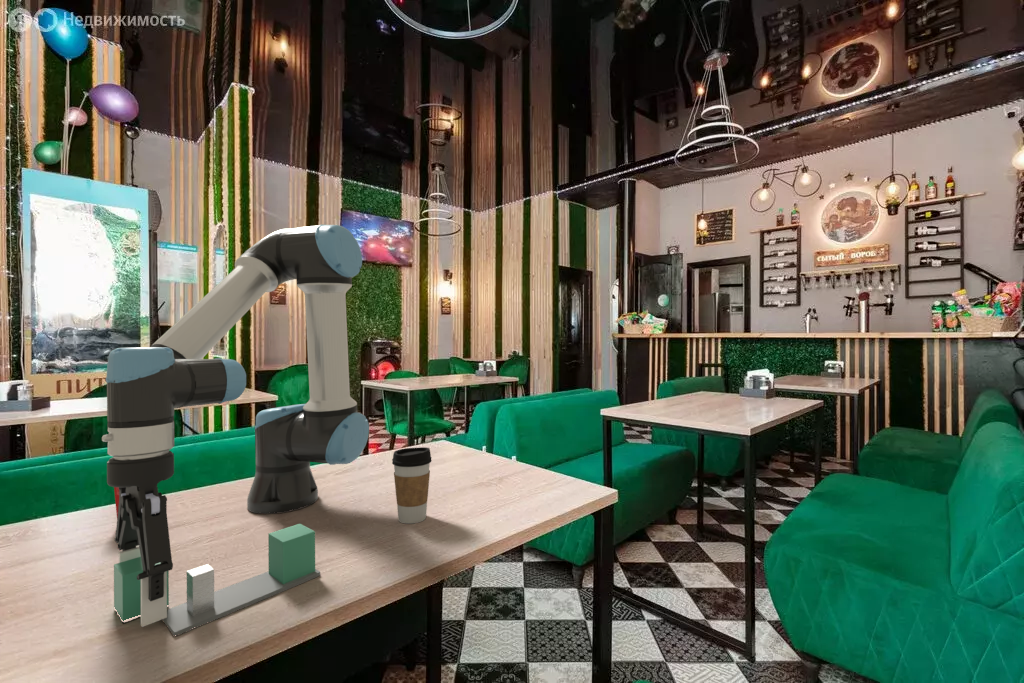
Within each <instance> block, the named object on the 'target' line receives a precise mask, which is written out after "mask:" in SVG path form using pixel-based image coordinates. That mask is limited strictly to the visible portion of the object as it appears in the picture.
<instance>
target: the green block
mask: <svg viewBox="0 0 1024 683" xmlns="http://www.w3.org/2000/svg"><path fill="white" fill-rule="evenodd" d="M157 564H161V562H160V563H157ZM157 564H155V565H157ZM169 571H170V570H169ZM169 571H167V605H169V604H170V603H169V601H170V600H169V599H170V597H169V596H170V595H169V593H170V592H169V590H170V589H169V587H170V586H169V584H170V583H169V573H170V572H169ZM140 573H143V567H142V561H141V557H138V558H134V559H131V560H127V561H124V562H121V563H119V562H118V563H114V564H113V608H114V607H115V609H116V610H117V612H118V614H119V615H120V617H121V619H122V620H123V621H124V620H126V619H129V618H132V617H135V616H138V615H141V579H140V580H137V576H138V574H140ZM169 606H170V605H169Z"/></svg>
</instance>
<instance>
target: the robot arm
mask: <svg viewBox="0 0 1024 683" xmlns="http://www.w3.org/2000/svg"><path fill="white" fill-rule="evenodd" d="M353 234H354V233H352V232H351V231H350V230H349V229H348V228H346V227H345V226H343V225H339V224H319V225H310V226H300V227H287V228H282V229H279V230H275V231H273V232H271V233H269V234H268V235H266V236H264V237H263V238H262V239H259V240H258V241H256V243H254V244H253V245H252V246H251V247H250V248H248V249H247V250H245V251H244V253H242V254H241V255H240V256H239V257H237V259H236V260H235V261H234V268H233V269H232V270H231V271H230V273H228V274H227V275H226V276H225V277H224V278H223V279H222V280H221V281H220V282H219V283H218V284H217V285H216V286H214V287H213V288H212V289H211V290H209V292H208V293H207V294H206V295H204V296H203V297H202V298H201V299H200V300H199V301H198V302H197V303H196V304H195V305H193V306H192V308H190V309H189V310H188V311H187V312H186V313H185V314H184V315H183V316H182V317H181V318H180V319H179V320H178V321H177V322H175V323H173V325H172V326H171V327H170V328H169V329H168V330H166V331H165V332H164V333H163V334H162V335H161V336H159V338H158V339H157V340H156V341H155V342H154V343H152V345H150V346H149V347H145V346H143V347H136V346H135V347H118V348H114V349H113V350H111V351H110V352H109V354H108V358H107V364H106V365H107V367H106V376H105V382H106V413H107V414H106V416H107V417H106V420H107V421H106V422H107V432H108V434H107V433H106V434H103V435H102V437H101V441H102V442H103V443H104V442H105V443H107V455H109V456H111V458H109V459H108V461H106V483H107V485H108V486H109V487H112V488H114V487H118V488H119V506H118V516H117V515H116V527H115V537H114V542H115V543H116V544H117V549H118V563H121V562H124V561H127V560H131V559H134V558H138V557H141V561H142V567H143V573H140V574H138V576H137V580H140V579H141V617H140V626H141V627H142V628H144V627H146V626H148V625H151V624H154V623H156V622H159V621H162V619H164V618H167V609H168V607H167V571H172V570H173V568H174V563H173V559H172V558H173V557H172V549H171V548H172V547H171V541H170V531H169V522H168V516H167V515H168V514H167V510H168V508H167V503H168V502H167V501H168V498H167V496H166V494H164V495H163V494H162V492H159V488H158V484H160V482H162V481H166V480H167V481H168V479H171V478H173V475H174V474H175V454H174V452H172V451H171V450H172V449H173V448H175V409H180V408H184V407H193V406H194V407H195V406H205V405H211V404H212V405H213V404H218V405H220V404H222V403H226V402H232V401H235V400H237V399H239V397H241V396H242V395H243V393H244V391H246V390H245V389H246V387H247V373H246V371H245V368H244V367H243V365H242V364H241V363H240V362H239V361H238V360H235V359H232V358H231V359H230V358H222V357H220V358H217V357H216V358H204V357H205V356H206V355H207V354H209V353H210V351H212V349H213V348H214V347H215V346H216V345H217V344H218V343H219V342H220V341H221V340H222V338H224V336H225V335H227V333H228V332H229V331H230V330H231V329H232V328H233V327H234V326H235V325H236V324H237V323H238V322H239V321H240V320H241V318H243V317H244V316H245V315H246V314H247V312H248V311H249V310H250V309H251V308H252V307H253V306H255V304H257V301H259V300H260V299H261V298H262V297H263V295H264V294H265V293H272V292H274V291H276V289H277V288H278V287H279V286H280V285H281V284H283V283H286V282H289V281H293V280H296V287H297V288H298V289H300V290H301V291H302V292H303V294H304V305H305V306H304V308H305V324H306V325H305V326H306V327H305V328H306V346H307V347H306V348H307V362H308V363H307V366H308V368H307V369H308V386H309V399H308V401H307V402H306V403H301V404H300V403H299V404H292V405H285V406H278V407H272V408H267V409H263V410H261V411H259V412H257V414H256V416H255V427H254V438H255V439H254V442H255V443H254V444H255V445H254V446H255V449H254V450H255V474H254V479H253V481H252V484H251V486H250V490H249V493H248V495H247V501H246V502H247V503H246V506H247V508H246V509H247V510H248V511H249V512H251V513H255V514H260V515H261V514H263V515H269V514H271V515H272V514H273V515H274V514H281V513H288V512H292V511H296V510H301V509H304V508H307V507H309V506H310V505H313V504H314V503H315V502H317V501H318V499H319V495H318V494H319V490H318V489H319V488H318V486H317V483H316V480H315V478H314V475H313V473H312V470H311V463H319V464H320V463H321V464H326V465H327V464H328V465H332V466H333V465H334V466H335V465H348V464H351V463H352V462H354V461H356V460H357V459H358V458H359V457H360V456H361V454H362V453H363V451H364V449H365V448H366V445H367V443H368V439H369V433H370V425H369V420H368V418H367V417H366V415H364V414H362V413H361V412H358V402H357V401H356V400H355V399H353V397H351V395H350V394H351V393H350V392H351V391H350V390H351V389H350V388H351V387H350V370H349V369H350V368H349V346H348V327H347V326H348V324H347V322H348V320H347V302H346V301H347V300H346V296H347V295H346V293H347V292H348V291H349V290H350V289H351V288H352V286H353V279H352V278H354V277H355V276H357V275H358V274H359V273H360V272H361V270H360V269H361V268H362V266H363V255H362V251H361V248H360V245H359V243H358V241H357V239H356V238H355V237H354V235H353ZM138 545H139V547H136V546H138ZM160 562H161V564H157V563H160ZM155 564H157V565H155Z"/></svg>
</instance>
